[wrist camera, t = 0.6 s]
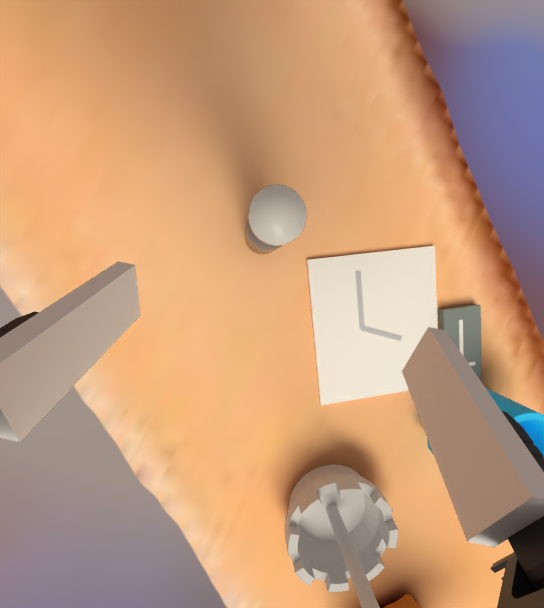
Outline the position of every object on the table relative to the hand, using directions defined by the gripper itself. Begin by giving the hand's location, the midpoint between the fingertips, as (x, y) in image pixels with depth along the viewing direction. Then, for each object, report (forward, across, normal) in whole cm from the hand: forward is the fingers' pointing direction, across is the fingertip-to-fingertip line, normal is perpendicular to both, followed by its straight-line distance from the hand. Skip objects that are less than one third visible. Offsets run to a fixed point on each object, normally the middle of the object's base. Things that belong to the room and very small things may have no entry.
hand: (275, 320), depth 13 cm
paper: (+19, +13, -11) cm, 25 cm away
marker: (+20, -3, -3) cm, 20 cm away
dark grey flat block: (+20, +24, -12) cm, 34 cm away
